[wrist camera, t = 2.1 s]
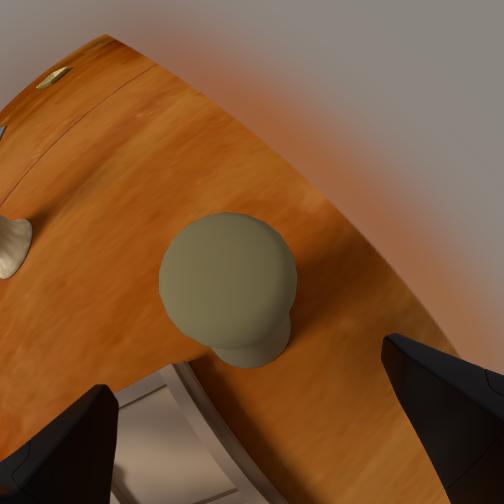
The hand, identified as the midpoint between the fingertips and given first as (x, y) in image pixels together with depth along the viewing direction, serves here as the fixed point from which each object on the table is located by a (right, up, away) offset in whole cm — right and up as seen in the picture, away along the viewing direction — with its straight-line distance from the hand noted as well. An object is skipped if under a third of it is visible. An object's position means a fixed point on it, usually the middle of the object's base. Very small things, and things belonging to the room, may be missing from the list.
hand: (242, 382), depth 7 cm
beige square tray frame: (-59, +55, +44) cm, 92 cm away
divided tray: (-4, -14, +5) cm, 16 cm away
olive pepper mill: (0, -1, +11) cm, 11 cm away
